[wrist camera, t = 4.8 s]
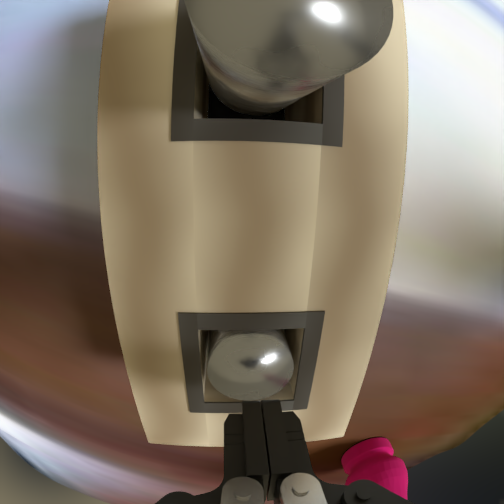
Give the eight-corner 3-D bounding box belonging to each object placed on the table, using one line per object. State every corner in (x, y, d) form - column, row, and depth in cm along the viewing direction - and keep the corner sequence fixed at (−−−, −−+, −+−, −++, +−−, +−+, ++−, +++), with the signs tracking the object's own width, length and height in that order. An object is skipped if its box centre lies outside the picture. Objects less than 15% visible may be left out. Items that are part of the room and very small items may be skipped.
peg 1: (304, 33, 11) (383, -59, 4) (303, 118, 12) (397, 95, 5) (209, 28, 11) (193, -84, 3) (205, 115, 12) (175, 75, 5)
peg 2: (273, 267, 21) (298, 335, 13) (270, 319, 22) (289, 398, 15) (212, 267, 20) (205, 337, 13) (213, 320, 22) (209, 400, 14)
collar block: (341, 14, 16) (398, -38, 8) (315, 361, 24) (343, 437, 17) (156, 5, 15) (121, -58, 7) (165, 364, 23) (148, 443, 16)
